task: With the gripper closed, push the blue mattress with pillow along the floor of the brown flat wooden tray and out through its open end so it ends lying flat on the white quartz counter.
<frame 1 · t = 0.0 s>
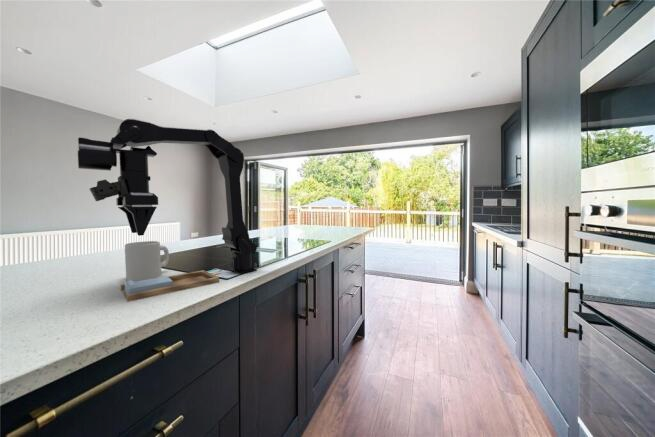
hand: (137, 234, 66), 15 cm above the worktop, fingers open, 9 cm apart
blue mattress with pillow: (149, 289, 64), point 1 cm above the worktop, touching brown flat wooden tray
mug: (150, 279, 78), on the worktop
brown flat wooden tray: (172, 288, 68), on the worktop
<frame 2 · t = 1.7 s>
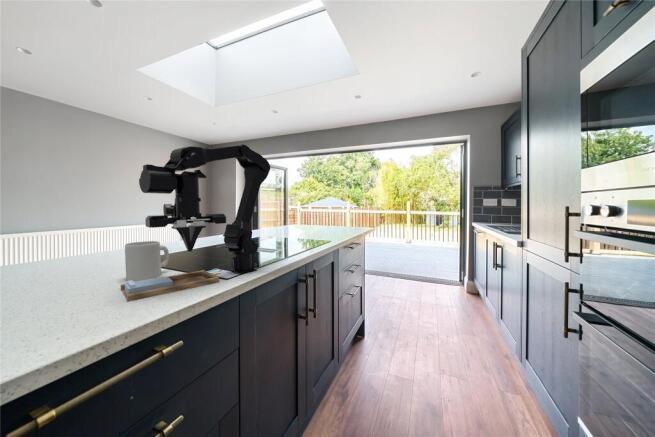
hand: (189, 251, 71), 9 cm above the worktop, fingers closed
nothing on the worktop moved.
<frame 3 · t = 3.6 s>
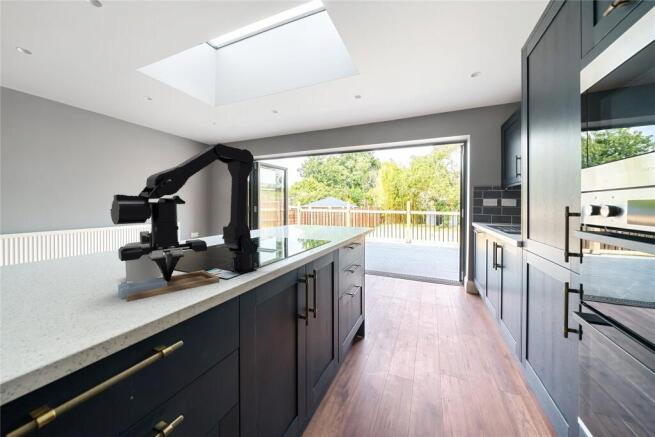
hand: (167, 281, 67), 2 cm above the worktop, fingers closed
blue mattress with pillow: (143, 291, 64), point 1 cm above the worktop, touching gripper
everything else where it was.
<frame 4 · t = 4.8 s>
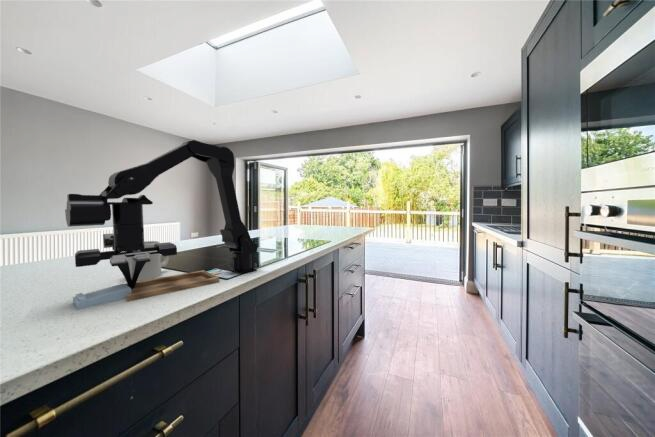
hand: (131, 288, 62), 2 cm above the worktop, fingers closed
blue mattress with pillow: (104, 301, 58), on the worktop, tilted 6°, touching brown flat wooden tray, gripper
everything else where it was.
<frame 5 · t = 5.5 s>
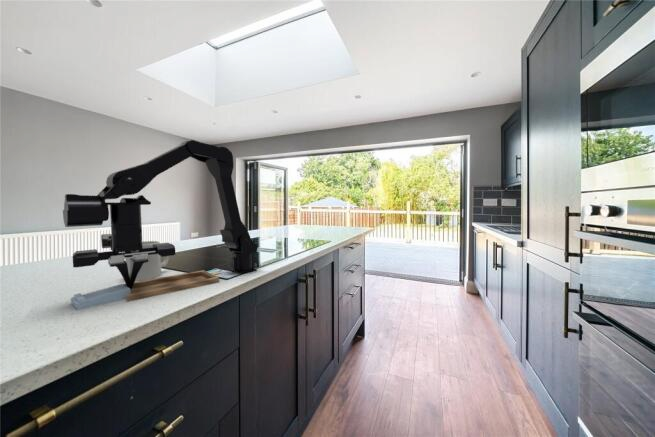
hand: (129, 289, 62), 2 cm above the worktop, fingers closed
nothing on the worktop moved.
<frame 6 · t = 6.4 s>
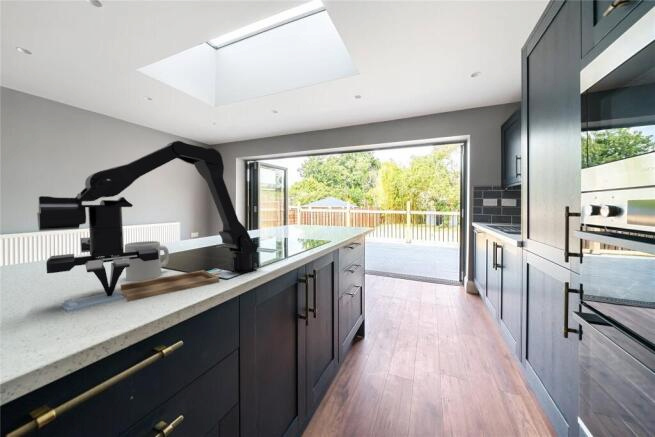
hand: (109, 295, 59), 1 cm above the worktop, fingers closed, pressing on blue mattress with pillow
blue mattress with pillow: (93, 308, 57), on the worktop, touching gripper
everything else where it was.
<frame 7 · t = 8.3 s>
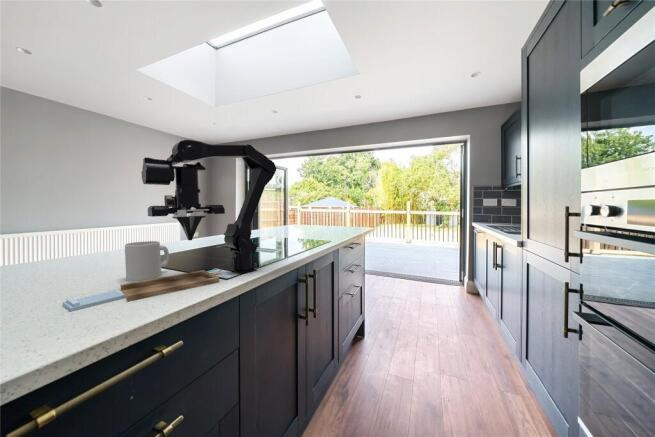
hand: (190, 240, 74), 12 cm above the worktop, fingers closed
blue mattress with pillow: (95, 307, 57), on the worktop
everything else where it was.
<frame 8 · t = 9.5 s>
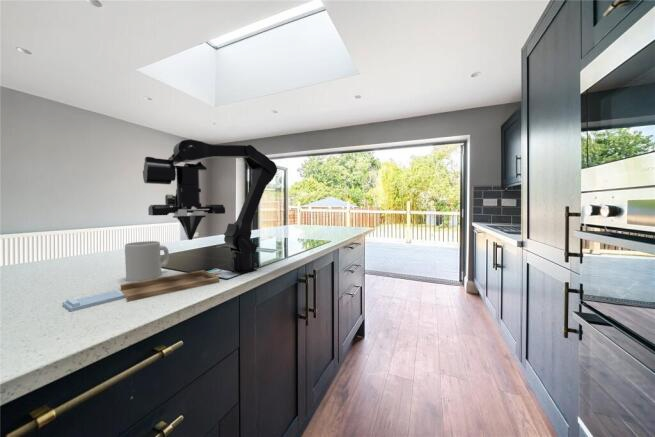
hand: (190, 239, 74), 12 cm above the worktop, fingers closed
nothing on the worktop moved.
at the end: blue mattress with pillow inside the target area (5.0 cm from its centre), on the worktop; blue mattress with pillow tilted 0° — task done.
